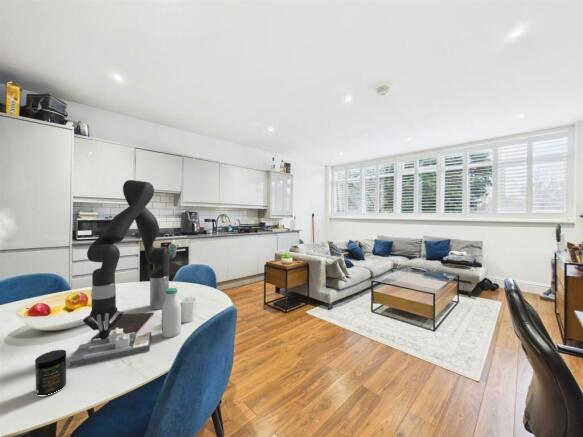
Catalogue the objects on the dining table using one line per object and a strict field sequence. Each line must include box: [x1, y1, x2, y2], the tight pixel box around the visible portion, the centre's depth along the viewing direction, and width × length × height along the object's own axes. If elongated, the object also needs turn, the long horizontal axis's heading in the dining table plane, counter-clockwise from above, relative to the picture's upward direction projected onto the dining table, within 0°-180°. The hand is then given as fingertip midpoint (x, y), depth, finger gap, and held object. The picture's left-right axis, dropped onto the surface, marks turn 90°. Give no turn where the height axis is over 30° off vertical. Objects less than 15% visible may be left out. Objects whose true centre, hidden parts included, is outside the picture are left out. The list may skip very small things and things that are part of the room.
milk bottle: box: [161, 287, 182, 338], centre depth 108 cm, size 8×8×20 cm
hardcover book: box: [90, 312, 155, 343], centre depth 113 cm, size 16×23×2 cm
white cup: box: [178, 296, 197, 323], centre depth 122 cm, size 8×8×10 cm
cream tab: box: [109, 328, 123, 343], centre depth 98 cm, size 4×4×4 cm
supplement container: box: [34, 349, 67, 396], centre depth 74 cm, size 7×7×10 cm
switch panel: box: [68, 331, 152, 368], centre depth 95 cm, size 12×24×3 cm, turn 117°
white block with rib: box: [115, 333, 130, 349], centre depth 94 cm, size 4×4×4 cm
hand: (104, 338), depth 96 cm, fingers closed
